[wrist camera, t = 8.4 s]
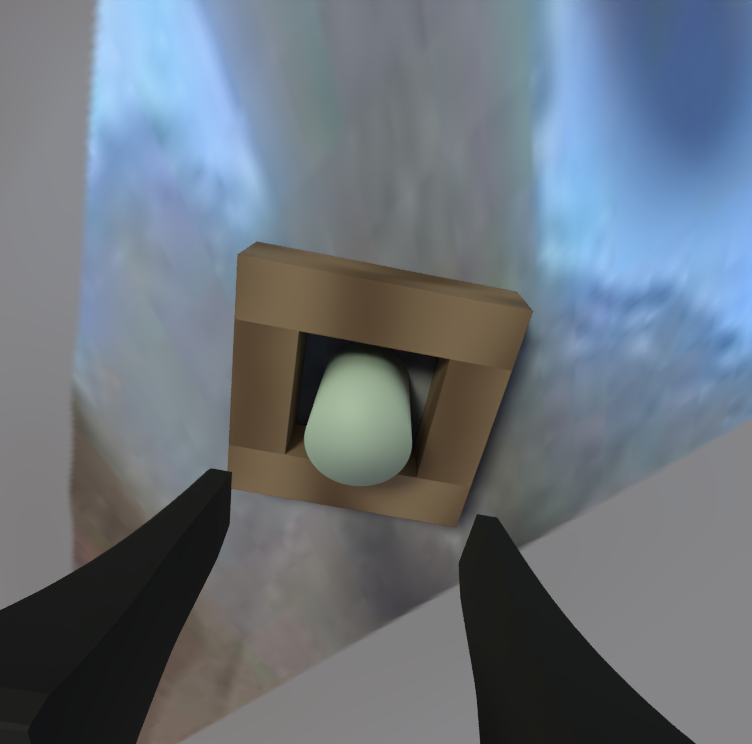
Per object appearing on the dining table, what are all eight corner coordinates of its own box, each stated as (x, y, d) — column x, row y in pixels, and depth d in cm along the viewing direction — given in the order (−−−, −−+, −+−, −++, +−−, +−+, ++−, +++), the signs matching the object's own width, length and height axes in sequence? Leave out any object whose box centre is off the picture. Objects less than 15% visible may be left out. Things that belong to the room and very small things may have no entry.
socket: (517, 292, 19) (533, 311, 17) (450, 491, 24) (456, 527, 22) (257, 241, 19) (237, 254, 16) (243, 455, 23) (226, 488, 21)
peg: (417, 351, 20) (422, 407, 16) (399, 424, 22) (399, 494, 18) (329, 335, 20) (310, 387, 16) (318, 410, 22) (298, 476, 18)
